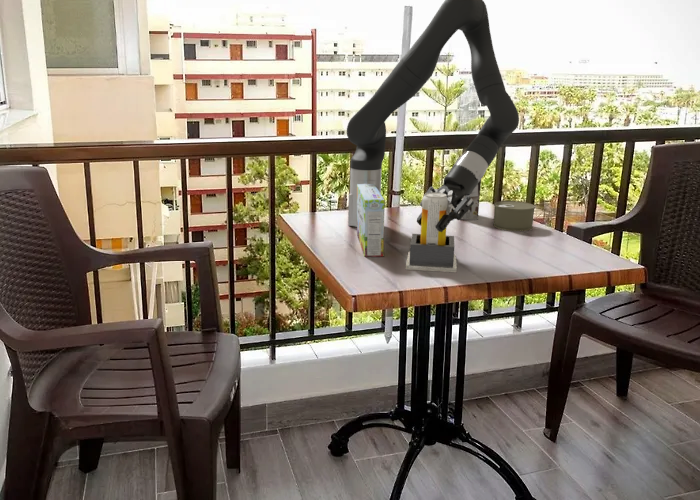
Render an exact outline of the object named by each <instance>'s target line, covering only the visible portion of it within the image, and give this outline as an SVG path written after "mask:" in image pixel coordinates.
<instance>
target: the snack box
mask: <svg viewBox="0 0 700 500" xmlns="http://www.w3.org/2000/svg"><path fill="white" fill-rule="evenodd" d="M385 201H386V200H385V199H384V197H383V196H382V193H381V194H380V192H379V191H378V189H377V188H376V186H375V184H357V227H356V236H357V238H358V242H359V245H360V248H361V251H362V254H363V256H364V258H367V257H384V256H385V255H384V254H385V253H384V250H385V249H384V244H385V205H386V204H385V203H386V202H385Z"/></svg>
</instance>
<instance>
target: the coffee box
mask: <svg viewBox="0 0 700 500" xmlns="http://www.w3.org/2000/svg"><path fill="white" fill-rule="evenodd" d="M481 187H482V179H481V180H480V181H479V183H478V184H477V186H476V187H475V188H474V190H473V191H472V193H471V194H470V197H471V199H472V200H473V202H474V204H473V205H472V206H471V207H470V209H469V210H468V211H467V212H466V213H465V214H464V216H463V217H462V218H461V219H460V220H471V221H473V220H474V221H477V220H478V219H479V210H480V196H481ZM460 212H461V210H460V211H459V212H458V213H460Z"/></svg>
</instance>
